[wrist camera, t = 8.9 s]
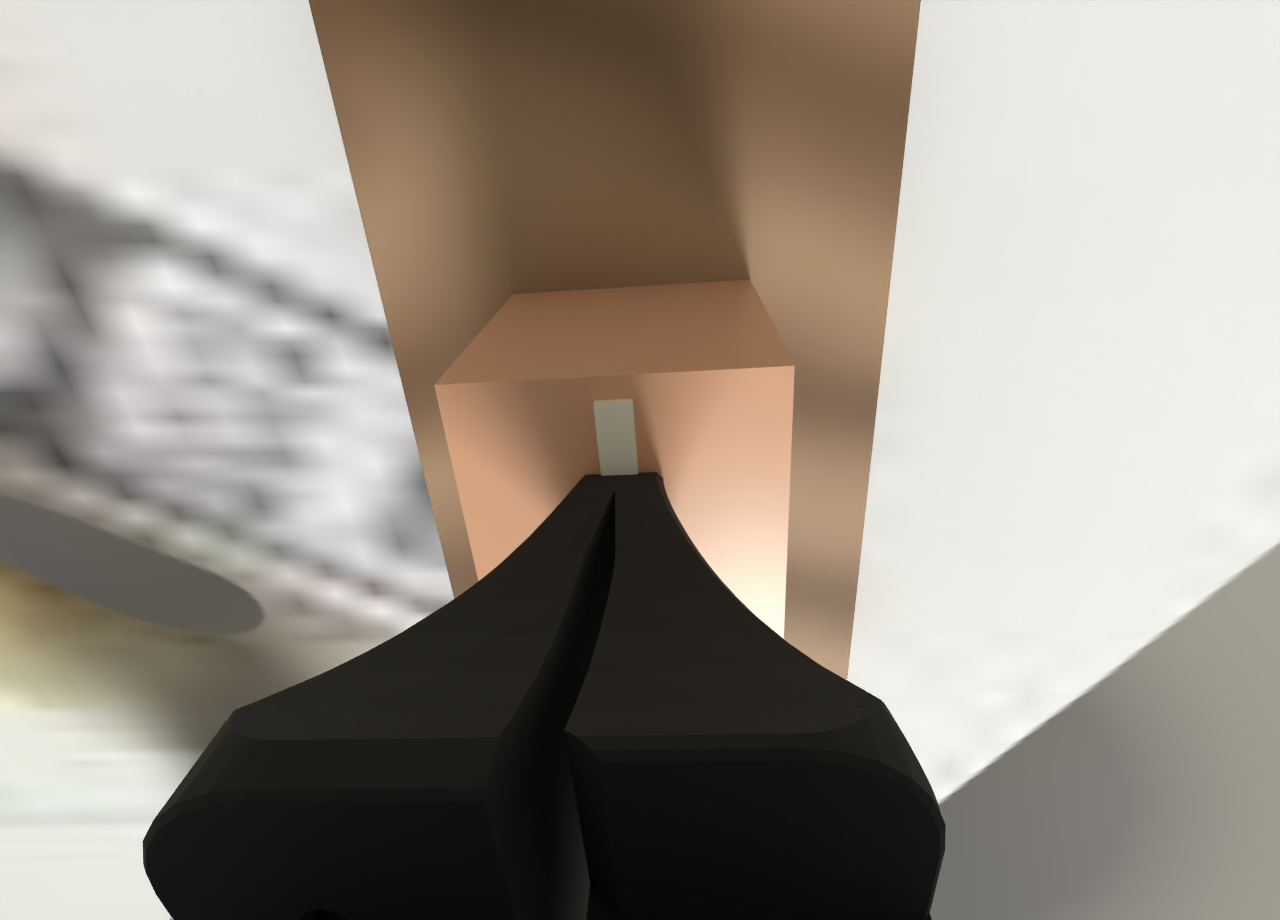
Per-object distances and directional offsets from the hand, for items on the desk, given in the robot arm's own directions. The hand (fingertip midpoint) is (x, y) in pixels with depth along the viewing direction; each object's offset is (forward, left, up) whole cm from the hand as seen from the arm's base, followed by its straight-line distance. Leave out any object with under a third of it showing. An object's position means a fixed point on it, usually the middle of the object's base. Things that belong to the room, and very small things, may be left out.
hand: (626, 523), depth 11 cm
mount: (0, 0, -8) cm, 8 cm away
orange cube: (0, 0, -6) cm, 6 cm away
